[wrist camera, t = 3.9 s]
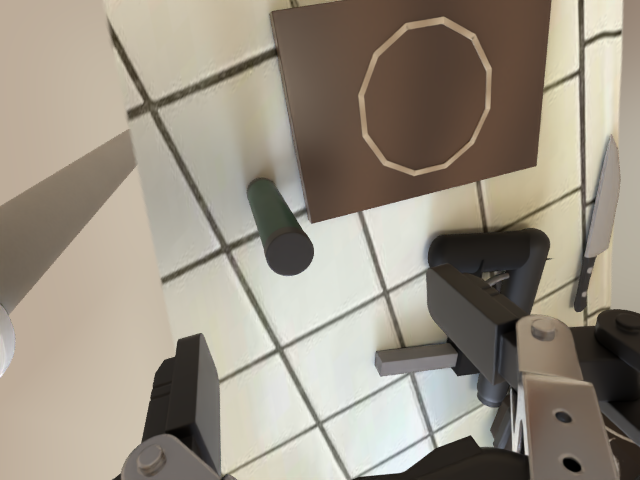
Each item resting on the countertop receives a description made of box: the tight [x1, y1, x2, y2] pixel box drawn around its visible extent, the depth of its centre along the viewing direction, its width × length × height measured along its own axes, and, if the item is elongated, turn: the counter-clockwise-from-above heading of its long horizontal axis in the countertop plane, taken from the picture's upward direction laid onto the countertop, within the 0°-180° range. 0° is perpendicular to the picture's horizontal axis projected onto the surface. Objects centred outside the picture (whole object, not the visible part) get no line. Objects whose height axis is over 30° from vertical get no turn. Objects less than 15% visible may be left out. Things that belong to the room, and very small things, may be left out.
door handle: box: [375, 228, 550, 407], centre depth 36 cm, size 3×20×16 cm
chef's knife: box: [574, 134, 620, 312], centre depth 37 cm, size 19×1×3 cm
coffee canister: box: [490, 394, 640, 480], centre depth 41 cm, size 18×18×16 cm
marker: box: [247, 178, 314, 276], centre depth 22 cm, size 2×2×11 cm
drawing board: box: [270, 0, 551, 224], centre depth 27 cm, size 20×14×1 cm
